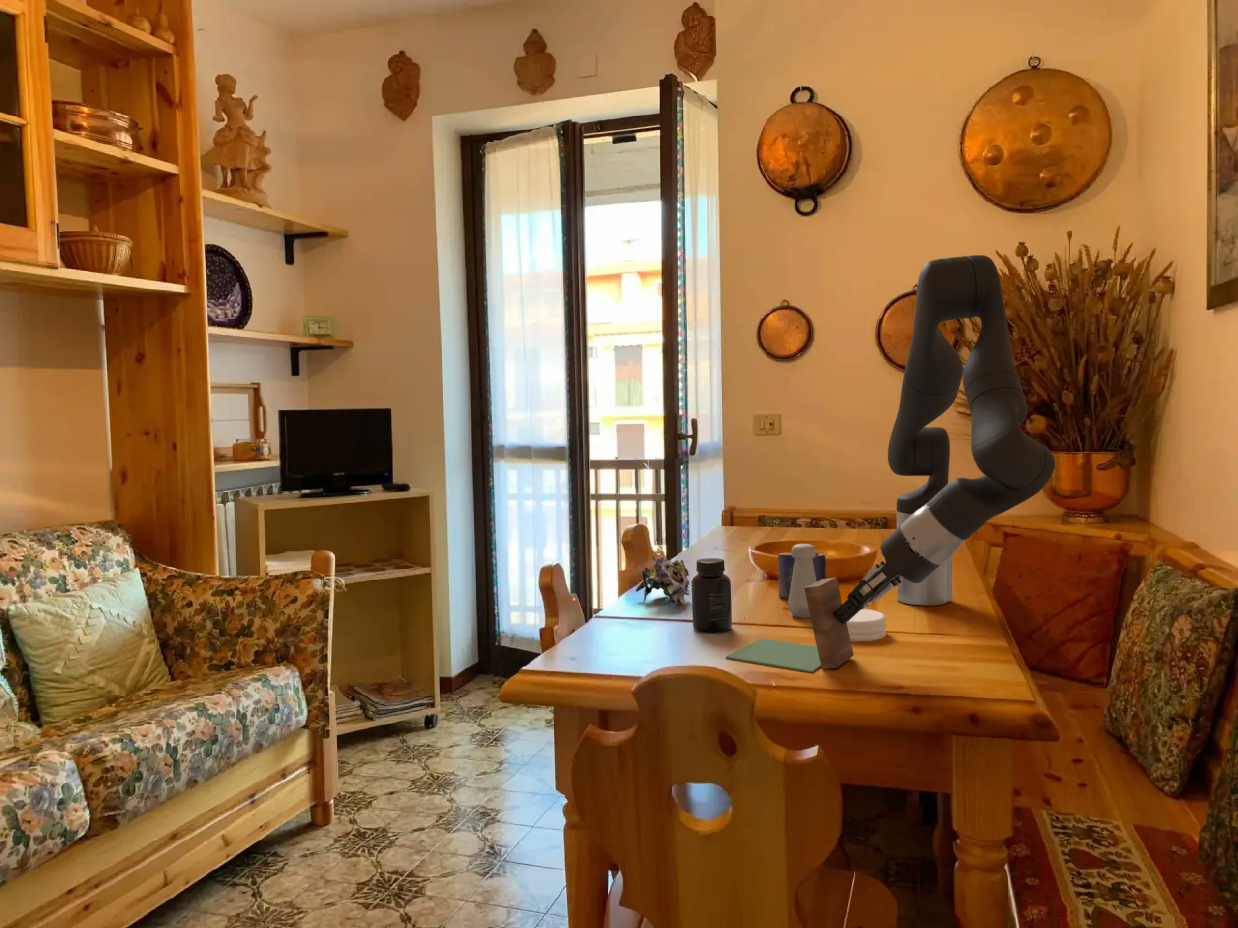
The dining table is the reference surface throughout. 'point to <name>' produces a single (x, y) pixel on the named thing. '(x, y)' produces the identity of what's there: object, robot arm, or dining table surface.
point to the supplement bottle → (711, 597)
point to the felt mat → (779, 655)
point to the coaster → (867, 626)
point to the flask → (787, 568)
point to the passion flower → (666, 579)
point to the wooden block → (828, 623)
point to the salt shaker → (801, 579)
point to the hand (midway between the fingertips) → (838, 618)
